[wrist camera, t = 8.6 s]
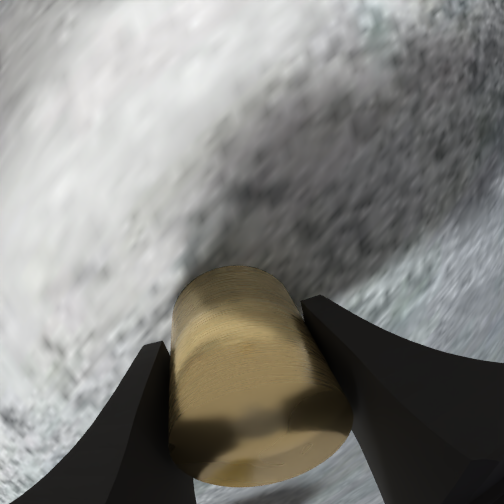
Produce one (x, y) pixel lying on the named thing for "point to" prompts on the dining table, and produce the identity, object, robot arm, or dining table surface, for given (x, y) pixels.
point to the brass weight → (249, 384)
